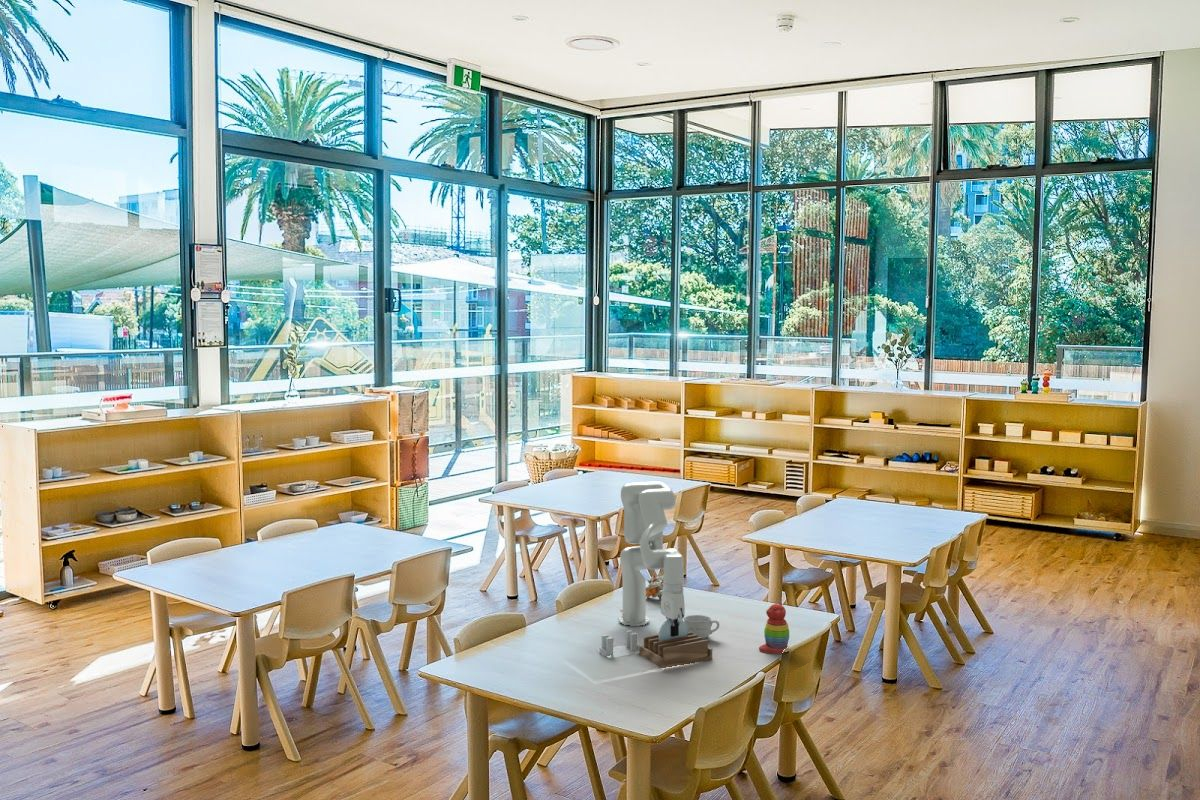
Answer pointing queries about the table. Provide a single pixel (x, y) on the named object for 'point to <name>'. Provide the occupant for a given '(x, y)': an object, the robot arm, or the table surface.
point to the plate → (666, 631)
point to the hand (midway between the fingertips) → (673, 634)
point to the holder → (623, 650)
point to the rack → (676, 650)
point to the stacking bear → (775, 630)
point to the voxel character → (655, 586)
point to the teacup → (700, 625)
